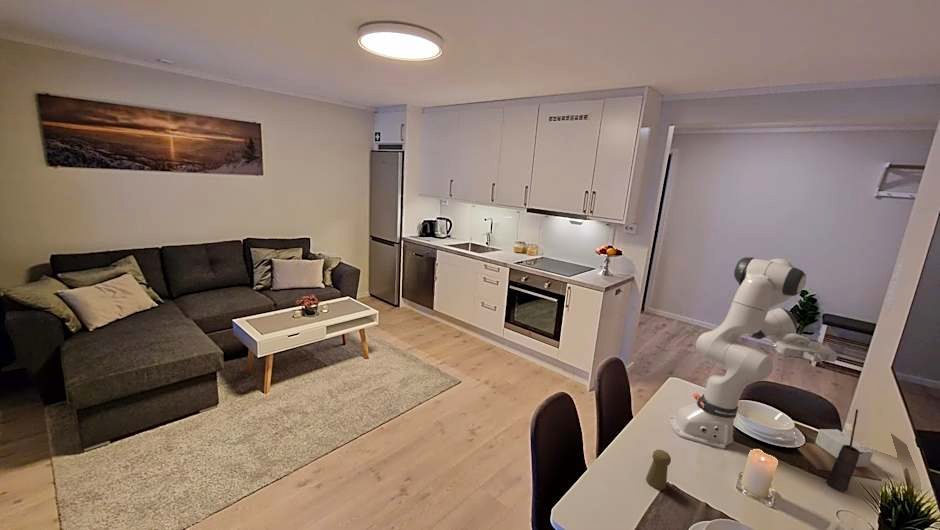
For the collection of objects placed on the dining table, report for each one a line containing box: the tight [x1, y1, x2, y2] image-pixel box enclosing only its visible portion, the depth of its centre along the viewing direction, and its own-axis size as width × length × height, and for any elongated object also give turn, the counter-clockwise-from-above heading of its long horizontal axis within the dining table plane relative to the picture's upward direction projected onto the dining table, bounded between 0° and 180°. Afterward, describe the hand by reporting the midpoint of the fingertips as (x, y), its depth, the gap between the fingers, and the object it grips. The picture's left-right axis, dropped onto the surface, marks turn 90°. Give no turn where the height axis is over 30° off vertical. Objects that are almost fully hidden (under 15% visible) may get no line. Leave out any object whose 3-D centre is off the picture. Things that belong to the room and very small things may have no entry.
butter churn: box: [826, 408, 863, 493], centre depth 129 cm, size 9×10×28 cm
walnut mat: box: [797, 442, 882, 482], centre depth 146 cm, size 20×16×1 cm
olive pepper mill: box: [645, 449, 672, 491], centre depth 126 cm, size 6×6×11 cm
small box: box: [814, 428, 874, 468], centre depth 148 cm, size 8×6×13 cm
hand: (817, 360), depth 154 cm, fingers closed
